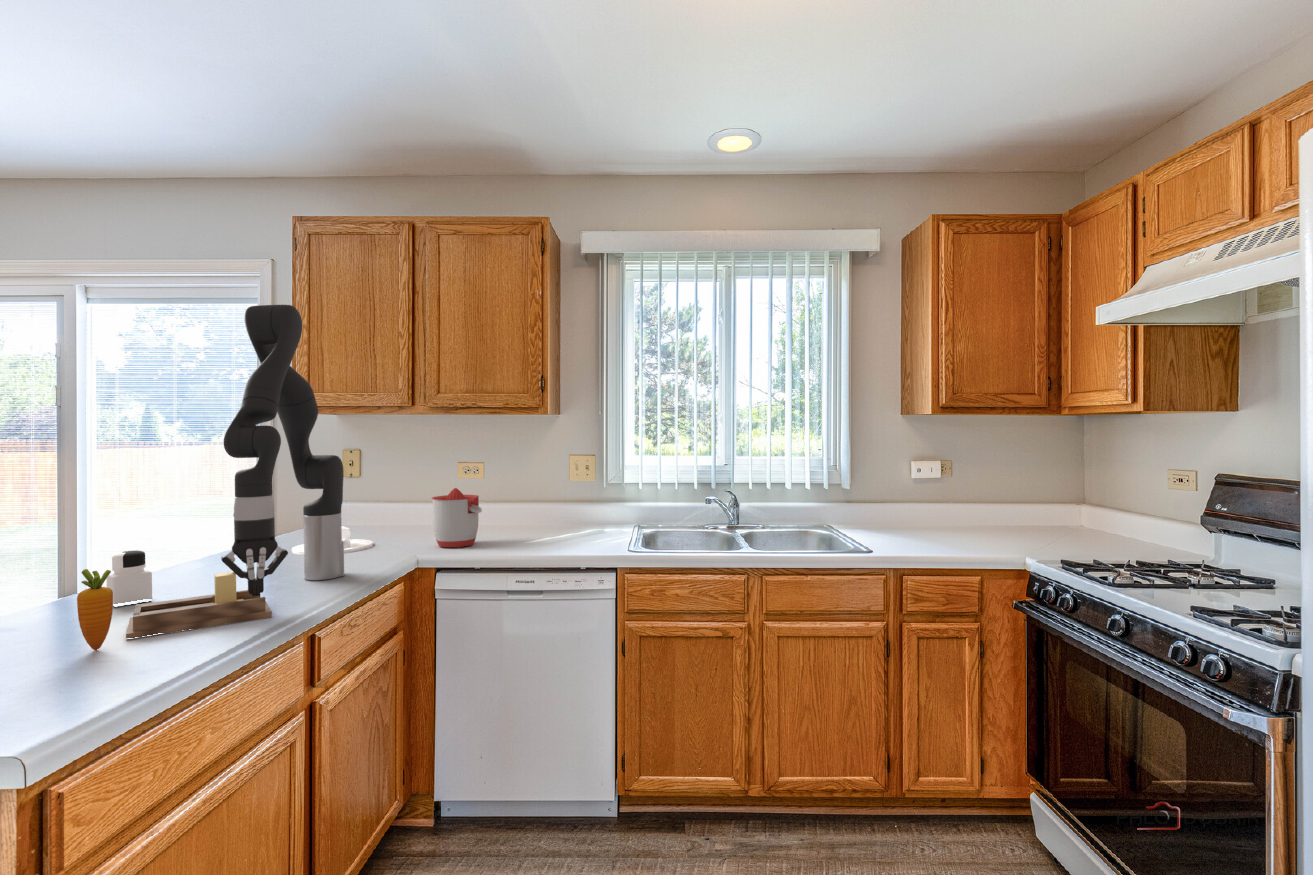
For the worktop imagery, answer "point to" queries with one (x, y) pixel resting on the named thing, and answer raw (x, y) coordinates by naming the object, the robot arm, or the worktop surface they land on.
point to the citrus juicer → (455, 519)
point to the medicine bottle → (129, 577)
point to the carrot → (95, 608)
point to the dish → (349, 544)
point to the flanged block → (225, 587)
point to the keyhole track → (195, 614)
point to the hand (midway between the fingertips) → (256, 595)
